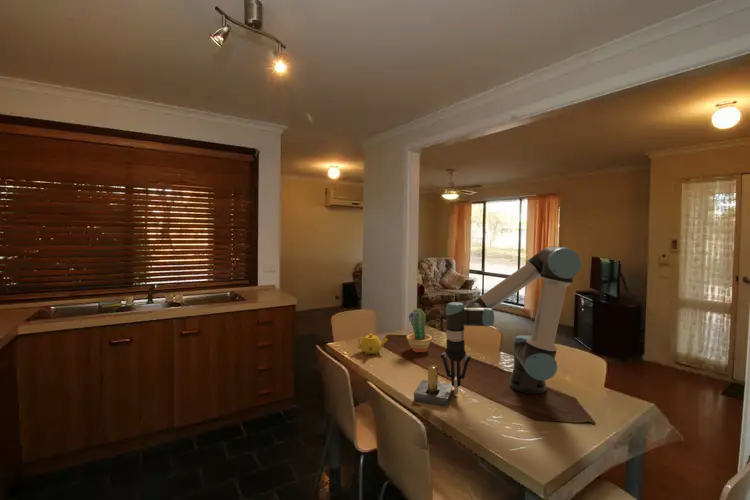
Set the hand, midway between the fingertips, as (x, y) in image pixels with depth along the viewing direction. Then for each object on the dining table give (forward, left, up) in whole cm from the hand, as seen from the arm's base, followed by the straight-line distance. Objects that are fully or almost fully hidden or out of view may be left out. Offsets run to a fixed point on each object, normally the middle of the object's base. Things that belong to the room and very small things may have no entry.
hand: (456, 393), depth 149 cm
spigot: (+9, +7, -1) cm, 11 cm away
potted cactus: (+31, -51, -2) cm, 60 cm away
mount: (+9, +4, -1) cm, 10 cm away
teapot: (+55, -36, -2) cm, 66 cm away
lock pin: (+7, 0, -1) cm, 7 cm away
